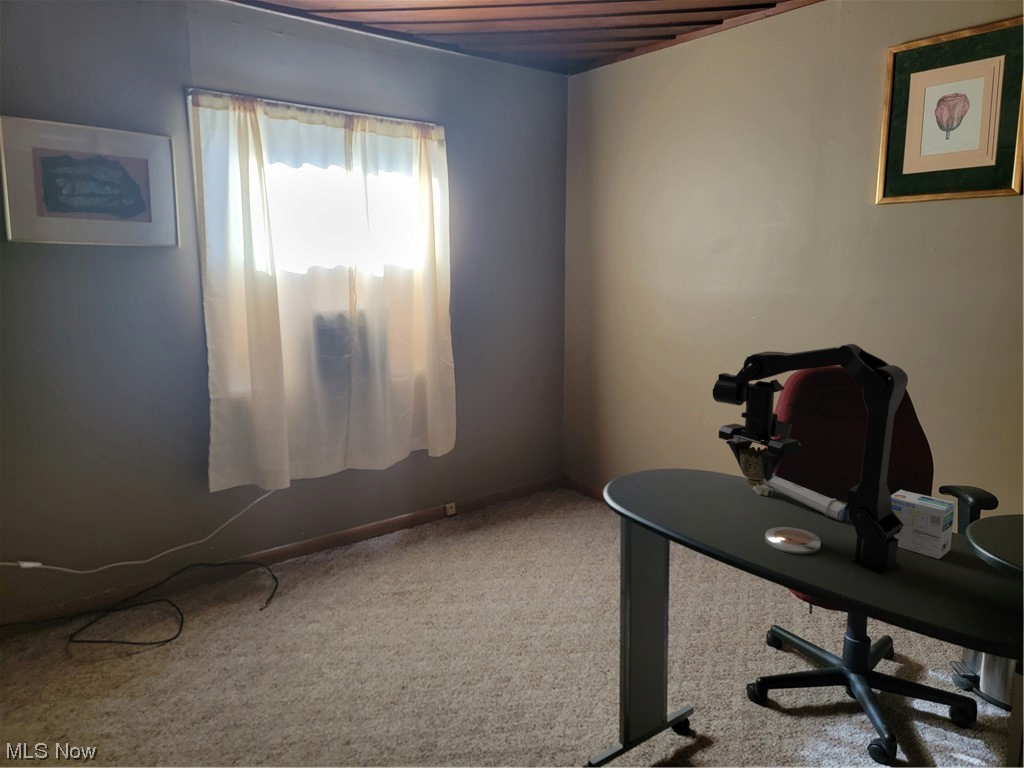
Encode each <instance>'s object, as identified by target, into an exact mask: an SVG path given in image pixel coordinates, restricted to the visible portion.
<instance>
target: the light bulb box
mask: <svg viewBox="0 0 1024 768" xmlns="http://www.w3.org/2000/svg"><path fill="white" fill-rule="evenodd" d="M890 495H891V504H892V511H893V512H894V513H895V515H896V516H897V517H898V518H899V519H900V521H901V522H902V523H903V525H904V526H903V528H902V529H901V531H900V532H899V533H897V534H896V535H894V537H895V538H897V539H899V540H898V548H900V549H904V550H907V551H911V552H915V553H918V554H921V555H924V556H928V557H932V558H935V559H937V560H938V559H940V560H941V558H942V557H944V556H945V555H946V554H947V553H948V552H949V551H950V550H951V543H952V536H953V535H952V534H953V526H954V516H955V510H956V509H955V507H956V502H955V501H952V500H948V499H947V500H946V499H943V498H937V497H933V496H930V495H925V494H920V493H915V492H911V491H906V490H904V489H899V490H898V491H896V492H895V493H893V494H890Z"/></svg>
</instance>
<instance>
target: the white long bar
mask: <svg viewBox="0 0 1024 768" xmlns="http://www.w3.org/2000/svg"><path fill="white" fill-rule="evenodd" d="M752 491H754V492H755V494H757V495H758V496H760V495H763V496H765V497H771V496H774V495H775V491H778V492H780V493H782V494H785V495H786V496H788V497H790V498H793V499H795V500H796V501H799V502H800V503H802V504H804V505H806V506H808V507H810V508H812V509H814V510H816V511H817V512H821V513H822V514H823V515H825V516H826V517H830V518H832V519H834V520H837V521H839V522H842V521H846V520H847V519H848V518H849V517H848V510H849V509H848V510H845V507H846V506H847V504H844V503H842V502H840V501H838V500H837V499H836V498H831V497H828V496H825V495H823V494H820V493H818V492H816V491H813V490H812V489H809V488H806V487H803V486H800V485H798V484H796V483H794V482H791V481H788V480H786V479H784V478H781V477H778V476H776V475H775V472H774V473H773V475H772V478H771V480H769V481H766V479H764V484H763V485H762V486H758V487H756V486H752ZM845 519H846V520H845Z"/></svg>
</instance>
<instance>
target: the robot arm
mask: <svg viewBox="0 0 1024 768" xmlns="http://www.w3.org/2000/svg"><path fill="white" fill-rule="evenodd" d="M836 366H841V368H843V369H844V370H845V371H846V372H847V374H848V375H849V376H850V377H851V378H852V380H854V381H855V382H856V383H858V384H859V385H861V388H862V400H863V402H864V406H865V408H866V411H867V419H866V426H865V427H866V428H865V434H864V435H865V437H864V445H863V455H862V464H861V473H860V481H859V483H858V484H856V485H855V486H853V487H852V488H849V489H848V490H847V492H846V496H847V502H846V507H845V510H848V509H849V510H848V517H847V518H848V519H849V521H851V523H852V524H853V525H854V526H853V527H854V529H855V533H856V539H855V540H856V541H855V550H854V551H855V553H854V554H855V555H854V556H855V557H852V558H851V562H852V563H855V564H857V565H859V566H862V567H863V568H865V569H868V570H871V571H873V572H875V573H876V574H880V575H882V574H885V573H888V572H891V571H893V570H896V569H898V568H901V566H902V565H901V563H899V562H897V557H898V548H899V547H898V540H899V539H897V538H895V537H894V535H896V534H897V533H899V532H900V531H901V529H902V528H903V526H904V525H903V523H902V522H901V521H900V519H899V518H898V517H897V516H896V515H895V513H894V512H893V511H892V504H891V495H892V494H891V492H890V489H889V487H888V484H887V483H888V482H887V481H888V480H887V479H888V473H889V463H890V455H891V449H892V448H891V447H892V438H893V430H894V422H895V421H894V420H895V414H896V412H897V410H898V408H899V406H900V404H901V403H902V400H903V398H904V395H905V392H906V389H907V386H908V382H909V380H908V374H907V372H906V371H904V370H903V369H902V368H901V367H899V366H898V365H897V366H896V365H893V364H889V363H888V362H886V361H885V360H883V359H882V358H880V357H878V356H876V355H874V354H871V353H869V352H867V351H866V350H864V349H863V348H862V347H860V346H859V345H857V344H855V343H848V344H843V345H839V346H833V347H826V348H818V349H812V350H805V351H799V352H783V351H771V350H769V351H763V352H758V353H752V354H749V355H747V356H746V357H745V359H744V362H743V366H742V368H741V369H740V370H739V371H738V373H736V375H735V374H730V373H728V372H727V373H725V372H722V373H719V374H718V379H717V380H716V381H715V383H714V387H713V388H712V398H713V400H714V401H715V402H718V403H721V404H727V405H733V406H739V407H740V406H742V405H744V403H745V412H743V411H742V412H741V414H740V415H741V416H740V417H741V418H743V419H745V422H744V425H742V424H740V423H739V424H738V423H731V424H725V425H721V427H720V428H719V429H718V438H719V439H721V440H725V443H726V445H728V446H729V448H730V449H731V452H732V453H733V455H734V457H735V459H736V461H737V464H738V466H739V467H740V469H741V463H740V448H741V449H742V450H743V448H745V449H746V450H747V448H748V447H750V448H751V447H752V445H753V443H754V444H758V445H762V446H765V447H766V448H767V450H768V451H769V452H764V453H762V459H763V467H764V475H765V479H766V481H769V480H771V478H772V475H773V473H774V474H775V472H776V470H777V469H776V468H777V467H778V465H779V463H780V461H781V460H782V459H783V458H785V457H790V456H796V455H800V454H801V451H802V449H801V448H802V445H801V443H800V442H799V440H796V439H792V438H790V437H789V436H790V433H791V430H792V428H793V424H791V423H787V422H784V421H782V420H778V418H779V416H778V413H775V412H774V401H775V393H777V392H782V391H784V390H785V387H784V385H783V384H781V383H780V382H779V380H778V378H777V379H772V380H770V381H762V380H764V379H767V378H768V379H769V378H772V377H776V376H778V375H781V374H782V375H783V374H785V373H789V372H791V371H792V372H793V371H794V372H795V371H799V370H800V371H801V370H811V369H819V368H826V367H828V368H829V367H836ZM753 381H756V382H755V383H751V382H753ZM779 436H783V437H779ZM777 437H779V438H777ZM774 438H775V439H774Z"/></svg>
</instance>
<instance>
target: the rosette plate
mask: <svg viewBox="0 0 1024 768" xmlns="http://www.w3.org/2000/svg"><path fill="white" fill-rule="evenodd" d="M764 541H765V543H766V544H767V545H769V546H770V547H772V548H773V549H775V550H778V551H781V552H783V553H784V552H785V553H789V554H795V555H807V554H814V553H816V552H818V551H820V550H821V538H820V537H819V536H818V535H817V534H814V533H813V532H810V531H809V530H805V529H801V528H796V527H790V526H788V527H787V526H777V527H772V528H769V529H767V530H766V531H765V534H764Z"/></svg>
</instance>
